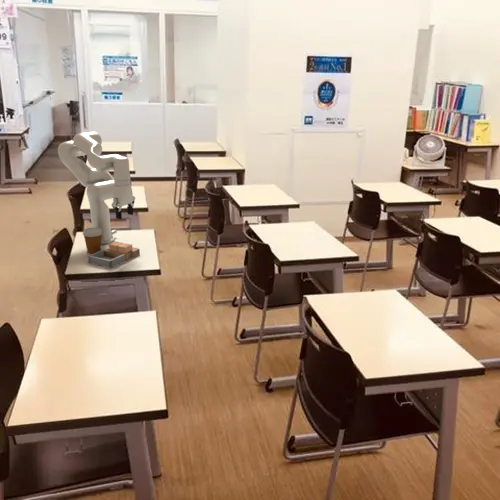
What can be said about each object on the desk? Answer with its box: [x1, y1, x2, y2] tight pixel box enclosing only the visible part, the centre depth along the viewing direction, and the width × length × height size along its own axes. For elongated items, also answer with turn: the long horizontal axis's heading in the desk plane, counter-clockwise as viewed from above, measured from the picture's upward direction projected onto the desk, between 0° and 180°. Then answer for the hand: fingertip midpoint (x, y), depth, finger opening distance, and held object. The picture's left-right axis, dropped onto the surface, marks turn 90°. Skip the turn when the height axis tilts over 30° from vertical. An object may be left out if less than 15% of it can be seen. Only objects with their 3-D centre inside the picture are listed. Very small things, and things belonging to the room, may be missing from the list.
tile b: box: [118, 242, 133, 253], centre depth 266 cm, size 5×5×3 cm
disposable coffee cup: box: [82, 227, 102, 255], centre depth 270 cm, size 10×10×12 cm
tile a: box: [108, 240, 124, 251], centre depth 268 cm, size 5×5×3 cm
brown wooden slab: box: [103, 246, 140, 262], centre depth 269 cm, size 11×14×3 cm
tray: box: [87, 249, 126, 269], centre depth 260 cm, size 10×14×4 cm
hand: (124, 216), depth 270 cm, fingers open, 8 cm apart
